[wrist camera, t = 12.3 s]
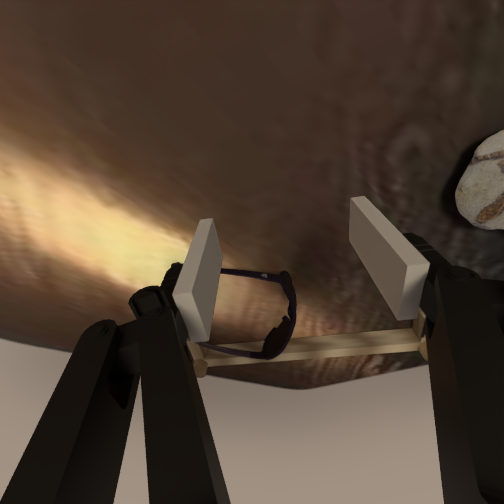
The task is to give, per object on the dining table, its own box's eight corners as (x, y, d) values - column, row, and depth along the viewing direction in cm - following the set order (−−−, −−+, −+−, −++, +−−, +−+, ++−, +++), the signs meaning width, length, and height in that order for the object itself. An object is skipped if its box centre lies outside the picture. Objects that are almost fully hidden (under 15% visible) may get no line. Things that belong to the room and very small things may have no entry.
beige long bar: (199, 354, 42) (193, 378, 38) (188, 327, 39) (181, 351, 35) (423, 335, 38) (439, 360, 35) (430, 305, 35) (448, 328, 32)
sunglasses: (281, 338, 40) (283, 368, 36) (173, 326, 39) (163, 355, 35) (302, 261, 33) (308, 288, 29) (171, 245, 32) (157, 269, 28)
